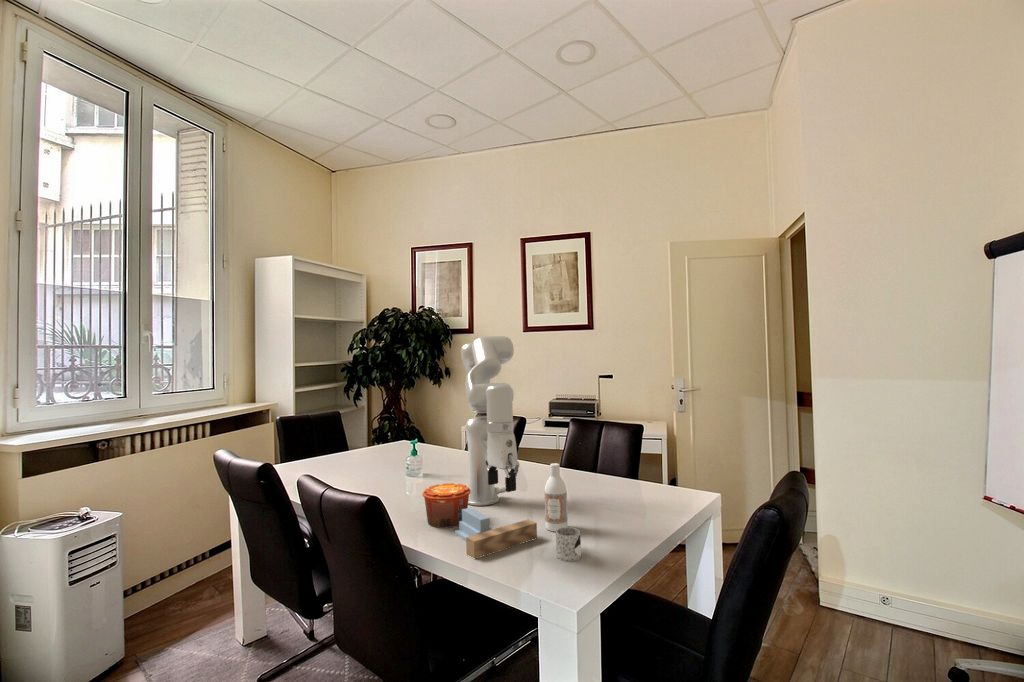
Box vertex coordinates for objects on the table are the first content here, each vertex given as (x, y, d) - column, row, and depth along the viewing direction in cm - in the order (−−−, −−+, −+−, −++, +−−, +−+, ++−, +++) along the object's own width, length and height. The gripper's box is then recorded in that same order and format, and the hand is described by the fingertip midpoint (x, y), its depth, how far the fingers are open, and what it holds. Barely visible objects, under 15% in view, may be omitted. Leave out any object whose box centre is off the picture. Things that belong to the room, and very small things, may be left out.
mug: (580, 562, 125) (580, 536, 125) (555, 561, 126) (554, 535, 126) (581, 546, 135) (580, 523, 135) (558, 546, 136) (557, 522, 136)
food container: (469, 511, 168) (468, 481, 168) (473, 527, 152) (472, 493, 153) (423, 515, 165) (422, 484, 166) (422, 532, 150) (422, 497, 150)
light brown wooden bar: (528, 535, 145) (528, 519, 145) (537, 539, 142) (536, 522, 142) (466, 555, 132) (466, 537, 132) (474, 560, 128) (473, 541, 129)
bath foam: (543, 531, 147) (541, 466, 148) (548, 523, 154) (546, 461, 155) (565, 533, 145) (563, 467, 146) (569, 525, 152) (567, 462, 153)
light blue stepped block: (477, 528, 151) (477, 506, 152) (497, 539, 141) (496, 516, 142) (455, 533, 147) (454, 511, 147) (473, 546, 137) (472, 521, 137)
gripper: (527, 429, 132) (529, 491, 132) (496, 423, 147) (497, 479, 146) (504, 432, 128) (506, 496, 128) (474, 426, 143) (476, 483, 142)
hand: (501, 487), depth 137 cm, fingers open, 9 cm apart
